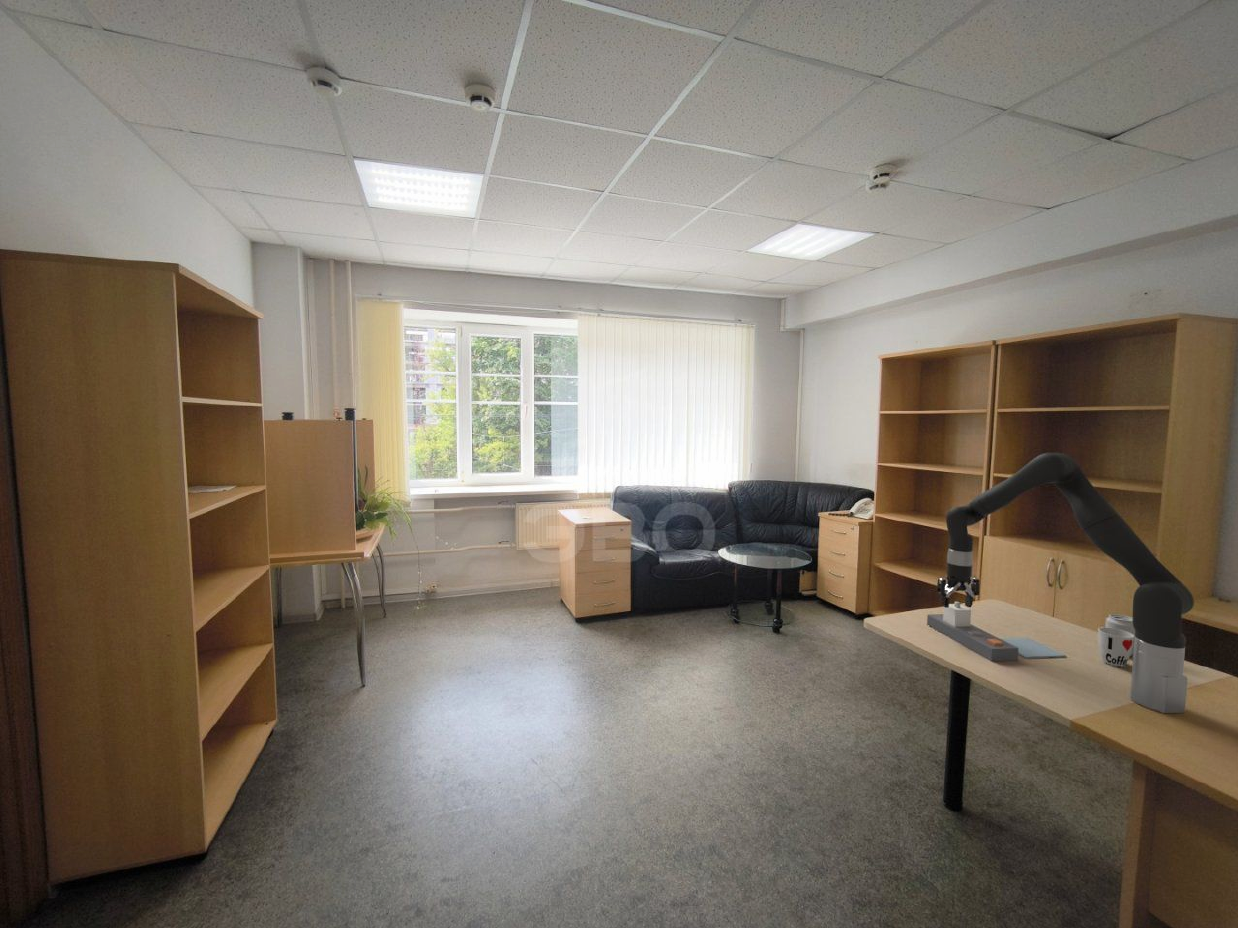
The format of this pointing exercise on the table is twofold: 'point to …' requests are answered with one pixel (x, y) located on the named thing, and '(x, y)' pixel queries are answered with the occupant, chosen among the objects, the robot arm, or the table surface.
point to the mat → (1032, 648)
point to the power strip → (975, 639)
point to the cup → (1115, 645)
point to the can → (1121, 625)
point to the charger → (957, 615)
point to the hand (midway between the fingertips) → (956, 606)
